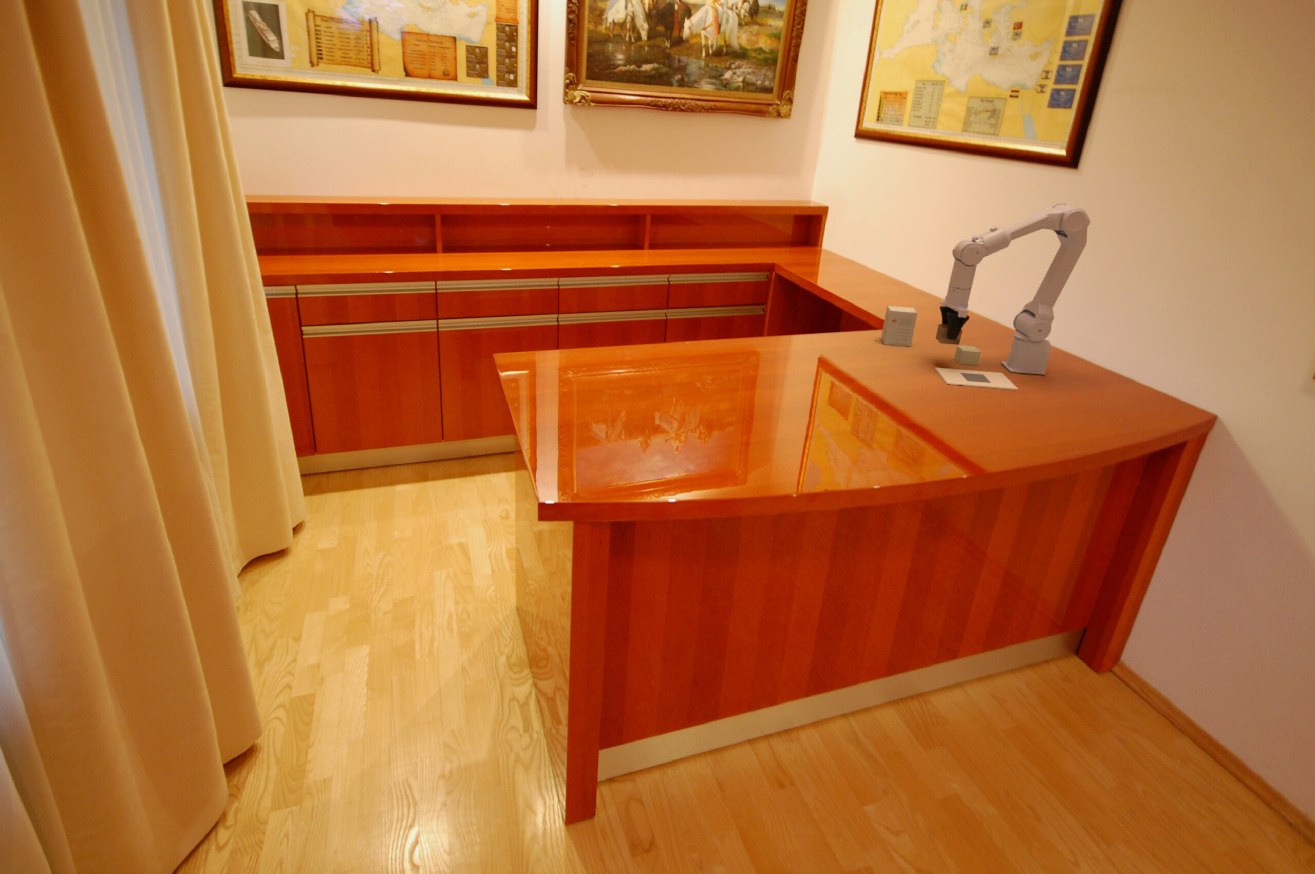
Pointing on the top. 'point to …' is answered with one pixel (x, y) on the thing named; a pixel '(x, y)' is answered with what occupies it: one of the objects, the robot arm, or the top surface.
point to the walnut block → (942, 335)
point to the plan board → (976, 378)
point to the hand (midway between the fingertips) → (948, 336)
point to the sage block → (967, 355)
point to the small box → (899, 326)
